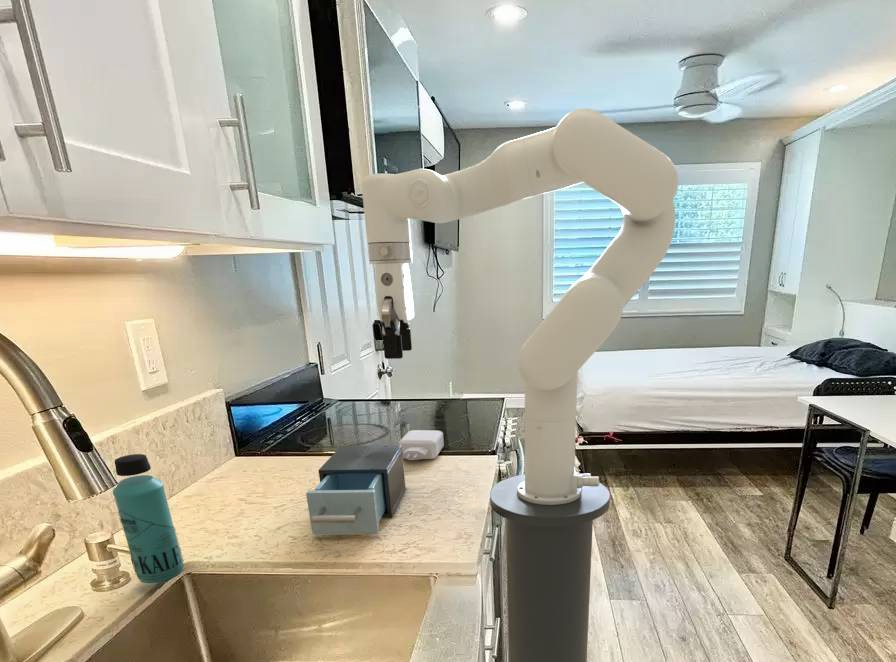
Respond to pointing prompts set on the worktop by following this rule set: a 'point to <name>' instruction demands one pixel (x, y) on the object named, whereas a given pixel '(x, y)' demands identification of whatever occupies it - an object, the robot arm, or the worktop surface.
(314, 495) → the light blue drawer
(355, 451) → the drawer cabinet
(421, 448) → the charger
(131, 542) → the beverage bottle
